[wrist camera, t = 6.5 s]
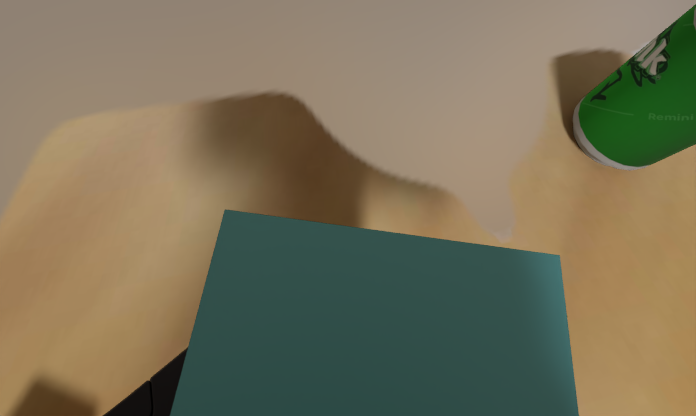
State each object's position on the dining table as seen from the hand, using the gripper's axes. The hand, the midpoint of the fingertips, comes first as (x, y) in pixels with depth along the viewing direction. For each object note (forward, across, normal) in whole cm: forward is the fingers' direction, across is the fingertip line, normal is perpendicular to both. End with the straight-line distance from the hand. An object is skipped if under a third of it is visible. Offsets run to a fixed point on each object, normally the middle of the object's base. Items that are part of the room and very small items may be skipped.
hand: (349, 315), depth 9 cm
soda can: (+22, -22, -4) cm, 31 cm away
